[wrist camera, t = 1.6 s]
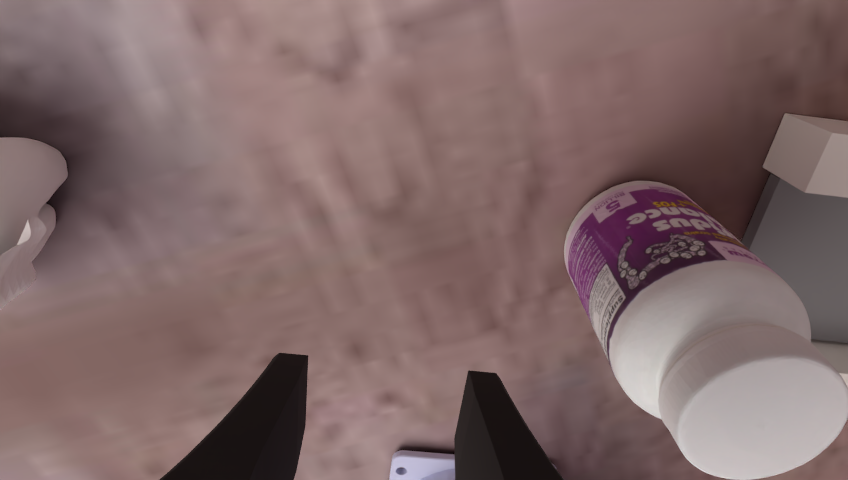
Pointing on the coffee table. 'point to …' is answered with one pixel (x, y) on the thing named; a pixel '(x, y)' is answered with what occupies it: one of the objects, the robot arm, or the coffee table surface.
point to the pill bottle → (703, 333)
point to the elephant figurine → (25, 209)
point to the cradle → (809, 225)
